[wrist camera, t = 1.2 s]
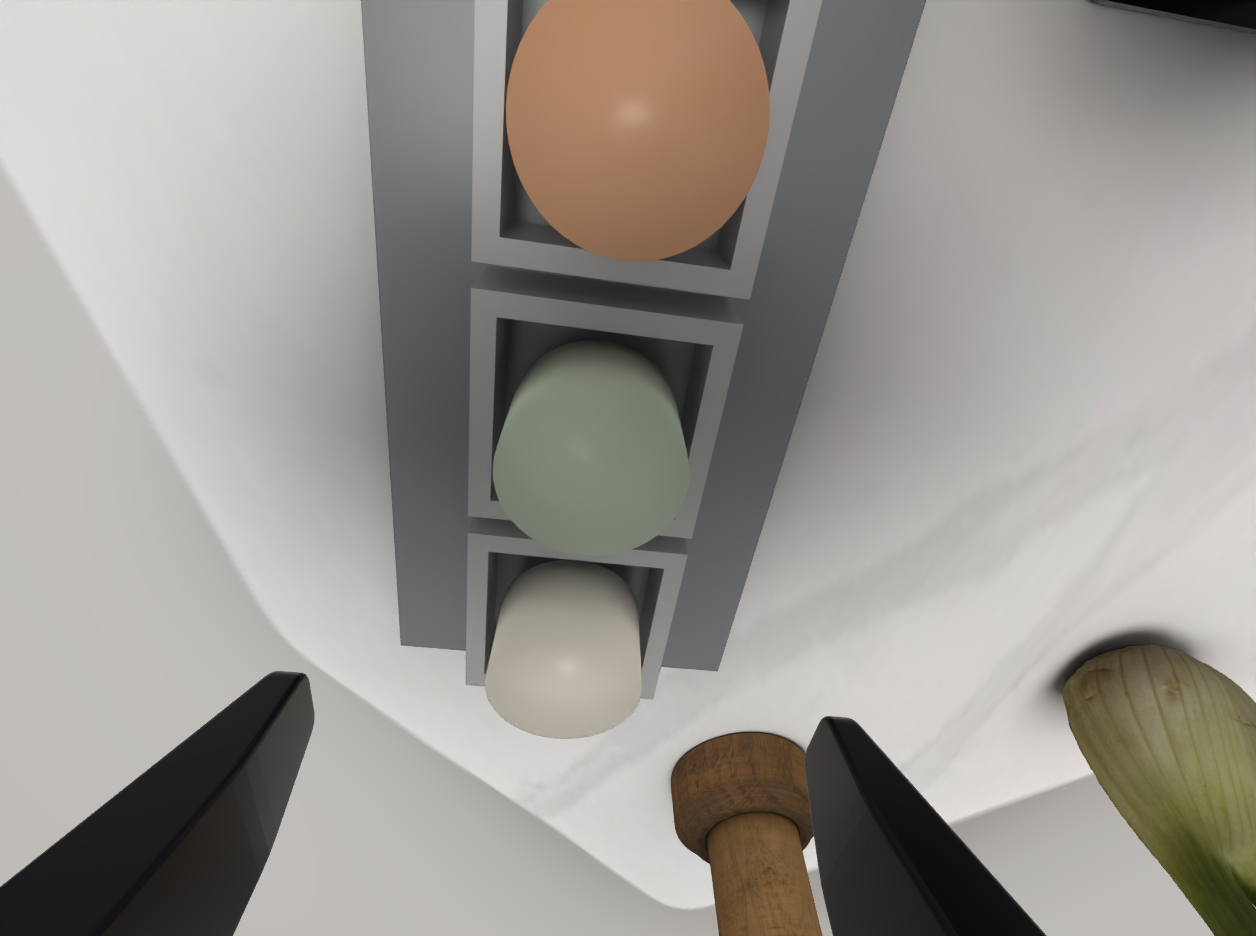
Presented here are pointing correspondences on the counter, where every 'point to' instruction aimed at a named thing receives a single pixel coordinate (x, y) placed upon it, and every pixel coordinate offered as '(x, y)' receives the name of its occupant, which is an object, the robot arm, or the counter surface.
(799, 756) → the mortar and pestle
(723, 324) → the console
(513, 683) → the button cream
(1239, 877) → the fennel bulb
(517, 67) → the button terracotta
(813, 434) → the counter surface
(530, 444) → the button sage
